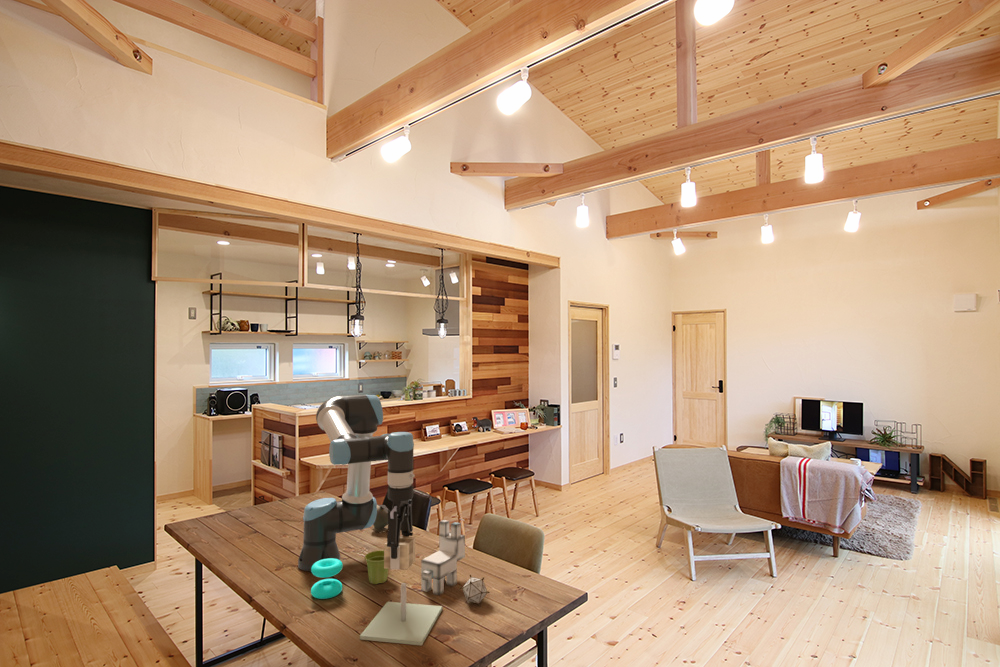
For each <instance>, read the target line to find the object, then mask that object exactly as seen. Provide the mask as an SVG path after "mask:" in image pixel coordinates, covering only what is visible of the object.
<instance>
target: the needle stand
mask: <svg viewBox="0 0 1000 667" xmlns="http://www.w3.org/2000/svg"><path fill="white" fill-rule="evenodd" d="M442 611H443V605H432V604H421V603H420V604H419V603H409V602H408V603H407V583H406V582H402V583H401V584H400V602H396V601H386V603H385V604H384V606H382V608H381V609H380V610H379V612H378V613H377V614H376V615H375V616H374V618H373V619H372V620H371V621H370V623H369V624H368V625H367V627H365V629H364V630H363V631H362V632H361V633H360V635H359V640H363V641H373V642H374V641H375V642H381V643H382V642H384V643H392V644H402V645H403V644H404V645H411V646H412V645H413V646H423V644H424V642H425V641H426V639H427V637H428V635H429V634H430V632H431V630H432V629H433V627H434V626H435V623H436V621H437V619H438V618H439V617H440V614H441V612H442Z"/></svg>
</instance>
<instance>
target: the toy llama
mask: <svg viewBox="0 0 1000 667" xmlns="http://www.w3.org/2000/svg"><path fill="white" fill-rule="evenodd" d="M438 534H439V549H438V551H435V552H434V553H432V554H429V555H428V556H426V557H424V558H423V559H421V561H420V562H421V565H420V566H421V569H420V571H421V572H420V574H421V576H420V578H421V579H420V582H421V583H420V584H421V585H420V586H421V588H420V590H421V591H423V592H426V593H427V592H429V591H431V590H432V594H433V595H437V596H441V595H443V594H444V593H445V592H444V583H445V582H446V586H449V587H451V588H452V587H454V586H456V585H457V584H458V582H457V578H458V576H457V574H458V572H457V570H458V568H457V567H458V565H457V564H458V563H457V562H459V561H460V560H462V559H464V558H465V557H466V535H464V534H462V523H461V522H458V521H457V522H456V521H454V522H452V523H450V520H446V519H443V520H440V521H439V533H438Z"/></svg>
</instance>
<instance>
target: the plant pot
mask: <svg viewBox="0 0 1000 667" xmlns="http://www.w3.org/2000/svg"><path fill="white" fill-rule="evenodd" d="M364 559H365V561H366V565H367V566H366V567H367V574H368V581H369V583H370V584H373V585H378V584H384V583H386V581H387V580H388V576H389V575H388V574H389V569H385V568H384V550H383V549H382V550H374V551H370V552H368V553H366V554H365V555H364Z"/></svg>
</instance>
